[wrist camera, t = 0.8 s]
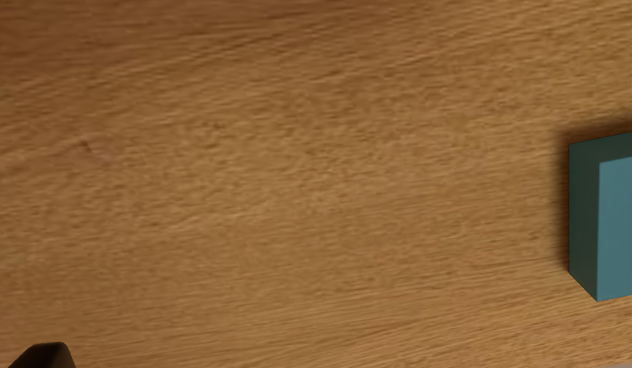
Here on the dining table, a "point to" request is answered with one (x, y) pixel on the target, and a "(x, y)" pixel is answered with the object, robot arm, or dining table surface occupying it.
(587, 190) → the button block
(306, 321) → the dining table surface
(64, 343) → the robot arm
